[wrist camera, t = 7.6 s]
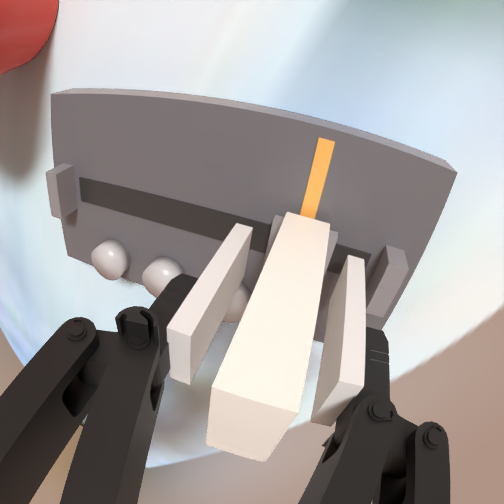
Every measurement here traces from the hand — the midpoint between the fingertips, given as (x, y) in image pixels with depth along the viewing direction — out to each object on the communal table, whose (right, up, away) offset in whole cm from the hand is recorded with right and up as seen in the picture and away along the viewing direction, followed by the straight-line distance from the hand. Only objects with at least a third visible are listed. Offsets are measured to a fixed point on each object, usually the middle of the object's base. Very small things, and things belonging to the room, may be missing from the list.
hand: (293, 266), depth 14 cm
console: (-4, +3, +4) cm, 6 cm away
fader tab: (0, +1, +1) cm, 1 cm away
